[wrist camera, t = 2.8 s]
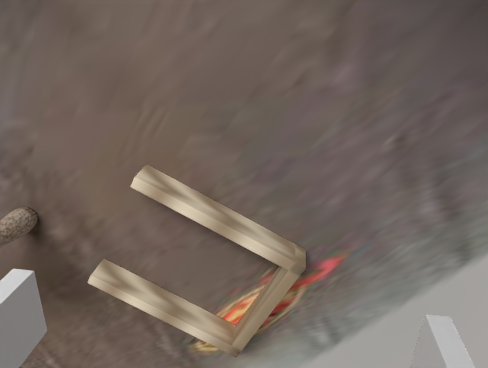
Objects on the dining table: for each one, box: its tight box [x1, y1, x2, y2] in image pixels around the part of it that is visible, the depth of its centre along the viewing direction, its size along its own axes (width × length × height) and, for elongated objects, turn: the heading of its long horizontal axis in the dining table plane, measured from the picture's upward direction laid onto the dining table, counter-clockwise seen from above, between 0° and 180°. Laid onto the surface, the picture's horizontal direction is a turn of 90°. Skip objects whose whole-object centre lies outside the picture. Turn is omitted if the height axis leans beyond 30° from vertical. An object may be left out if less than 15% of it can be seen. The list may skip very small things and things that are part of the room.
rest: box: [88, 165, 306, 357], centre depth 41 cm, size 18×14×3 cm
